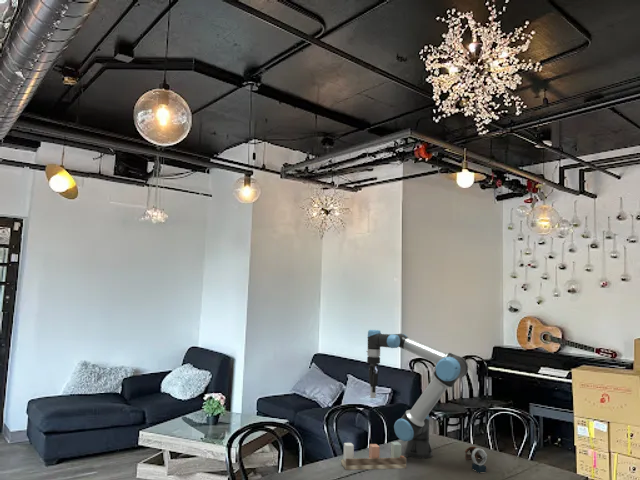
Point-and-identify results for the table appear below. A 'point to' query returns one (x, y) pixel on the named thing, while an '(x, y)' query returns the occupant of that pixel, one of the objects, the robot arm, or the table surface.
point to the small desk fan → (479, 466)
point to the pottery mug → (468, 456)
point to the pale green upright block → (395, 450)
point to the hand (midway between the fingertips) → (372, 397)
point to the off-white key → (348, 451)
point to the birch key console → (374, 463)
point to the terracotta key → (374, 451)
